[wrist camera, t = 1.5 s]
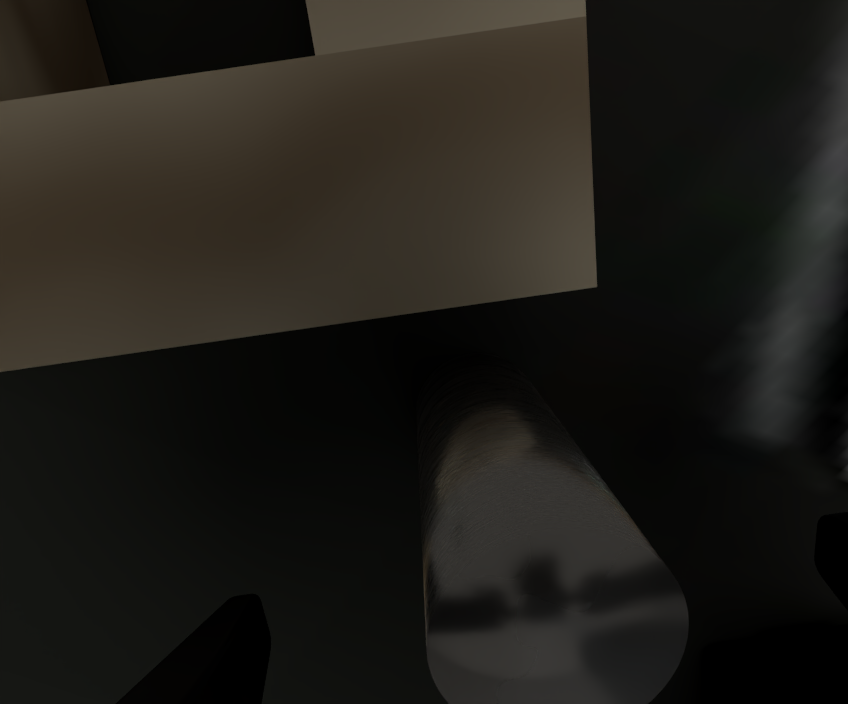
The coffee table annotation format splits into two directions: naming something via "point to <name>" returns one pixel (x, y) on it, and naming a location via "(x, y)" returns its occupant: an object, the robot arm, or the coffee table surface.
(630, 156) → the coffee table surface
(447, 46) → the socket board
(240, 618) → the robot arm
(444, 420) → the peg
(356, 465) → the coffee table surface
